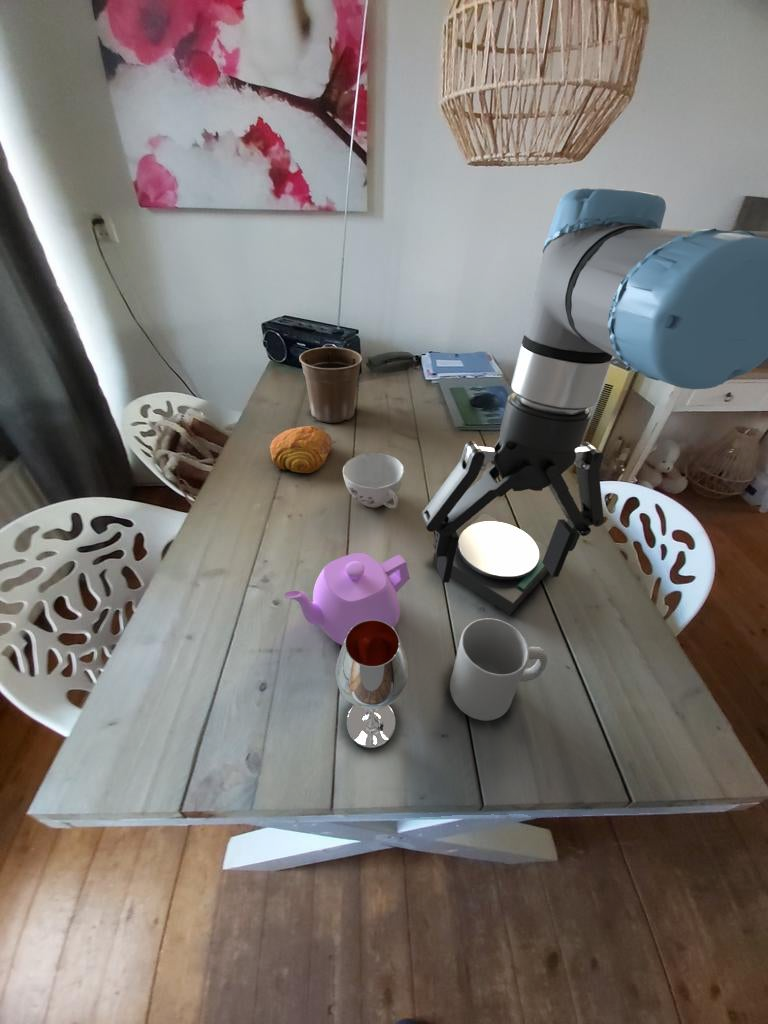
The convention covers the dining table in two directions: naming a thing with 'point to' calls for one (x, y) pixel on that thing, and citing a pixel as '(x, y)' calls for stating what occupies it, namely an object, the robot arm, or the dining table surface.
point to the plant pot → (331, 382)
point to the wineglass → (371, 680)
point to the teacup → (374, 479)
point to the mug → (492, 668)
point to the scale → (497, 590)
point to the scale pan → (498, 550)
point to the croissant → (301, 449)
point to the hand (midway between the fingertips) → (497, 572)
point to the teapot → (354, 594)
